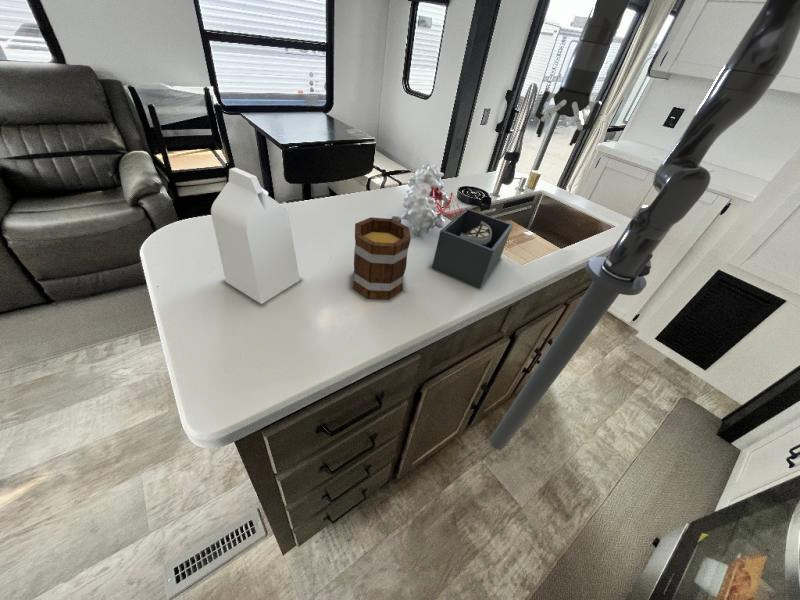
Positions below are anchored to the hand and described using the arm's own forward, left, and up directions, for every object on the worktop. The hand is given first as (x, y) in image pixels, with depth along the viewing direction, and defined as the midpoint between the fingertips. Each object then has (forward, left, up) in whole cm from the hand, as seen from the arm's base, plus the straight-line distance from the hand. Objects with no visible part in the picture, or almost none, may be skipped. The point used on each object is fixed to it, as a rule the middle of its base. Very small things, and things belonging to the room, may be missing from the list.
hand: (554, 140), depth 86 cm
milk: (+45, +64, -32) cm, 85 cm away
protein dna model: (+29, +8, -32) cm, 44 cm away
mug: (+24, +44, -32) cm, 60 cm away
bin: (+8, +22, -32) cm, 40 cm away
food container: (+7, +22, -32) cm, 39 cm away
